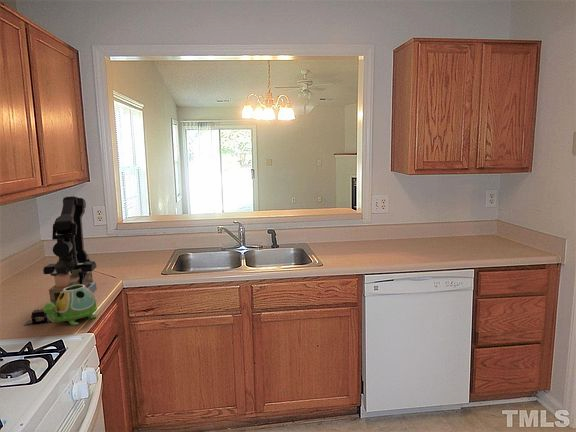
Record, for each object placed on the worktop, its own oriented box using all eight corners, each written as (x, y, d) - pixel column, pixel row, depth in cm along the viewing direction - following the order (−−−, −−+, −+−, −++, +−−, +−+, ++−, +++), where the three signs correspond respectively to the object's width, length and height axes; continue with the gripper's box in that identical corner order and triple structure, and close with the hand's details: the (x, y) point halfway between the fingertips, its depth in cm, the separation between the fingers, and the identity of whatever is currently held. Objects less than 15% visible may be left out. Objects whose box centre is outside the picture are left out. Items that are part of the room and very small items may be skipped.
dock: (75, 290, 187) (74, 283, 186) (96, 288, 187) (95, 282, 187) (48, 312, 162) (47, 304, 162) (73, 311, 163) (72, 303, 162)
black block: (61, 316, 159) (60, 305, 158) (55, 324, 152) (54, 312, 151) (25, 321, 157) (23, 309, 156) (17, 329, 150) (15, 316, 149)
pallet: (77, 281, 186) (76, 270, 185) (92, 280, 186) (91, 269, 185) (50, 302, 162) (48, 289, 161) (67, 301, 162) (66, 288, 162)
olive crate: (76, 272, 182) (75, 263, 181) (86, 272, 182) (84, 263, 182) (72, 275, 178) (71, 266, 177) (82, 274, 178) (80, 265, 178)
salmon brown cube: (60, 283, 168) (59, 273, 167) (70, 283, 168) (69, 273, 167) (55, 287, 164) (54, 277, 163) (66, 286, 164) (64, 276, 164)
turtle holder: (37, 326, 150) (32, 294, 148) (87, 309, 164) (83, 279, 162) (54, 334, 143) (49, 300, 141) (105, 315, 157) (101, 284, 155)
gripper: (33, 257, 163) (39, 296, 165) (84, 254, 164) (89, 293, 167) (47, 250, 174) (52, 286, 176) (94, 247, 175) (99, 283, 178)
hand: (72, 287), depth 174 cm, fingers closed on pallet, 6 cm apart
